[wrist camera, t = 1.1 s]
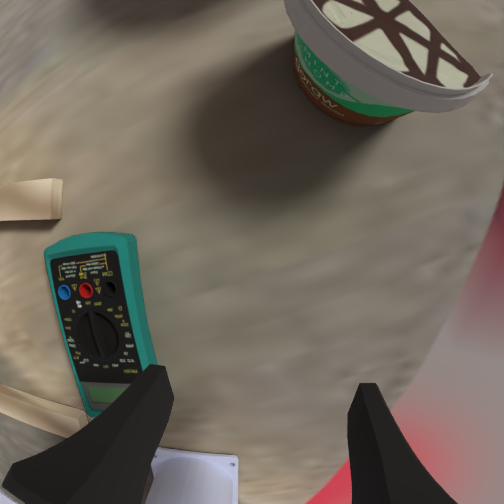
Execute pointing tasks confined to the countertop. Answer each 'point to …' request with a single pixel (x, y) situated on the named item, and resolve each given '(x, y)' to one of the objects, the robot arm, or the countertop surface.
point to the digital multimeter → (100, 313)
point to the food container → (376, 61)
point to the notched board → (3, 397)
